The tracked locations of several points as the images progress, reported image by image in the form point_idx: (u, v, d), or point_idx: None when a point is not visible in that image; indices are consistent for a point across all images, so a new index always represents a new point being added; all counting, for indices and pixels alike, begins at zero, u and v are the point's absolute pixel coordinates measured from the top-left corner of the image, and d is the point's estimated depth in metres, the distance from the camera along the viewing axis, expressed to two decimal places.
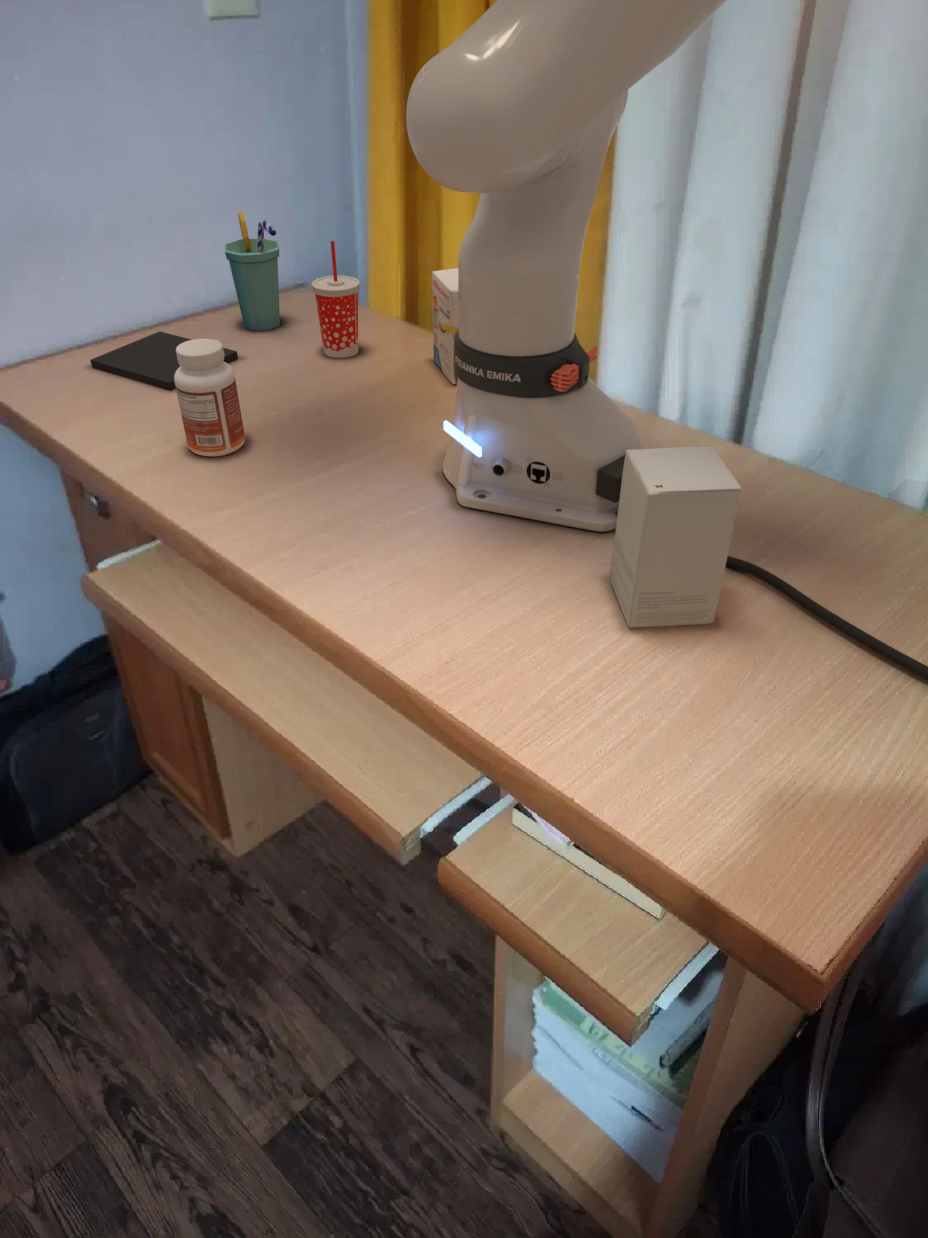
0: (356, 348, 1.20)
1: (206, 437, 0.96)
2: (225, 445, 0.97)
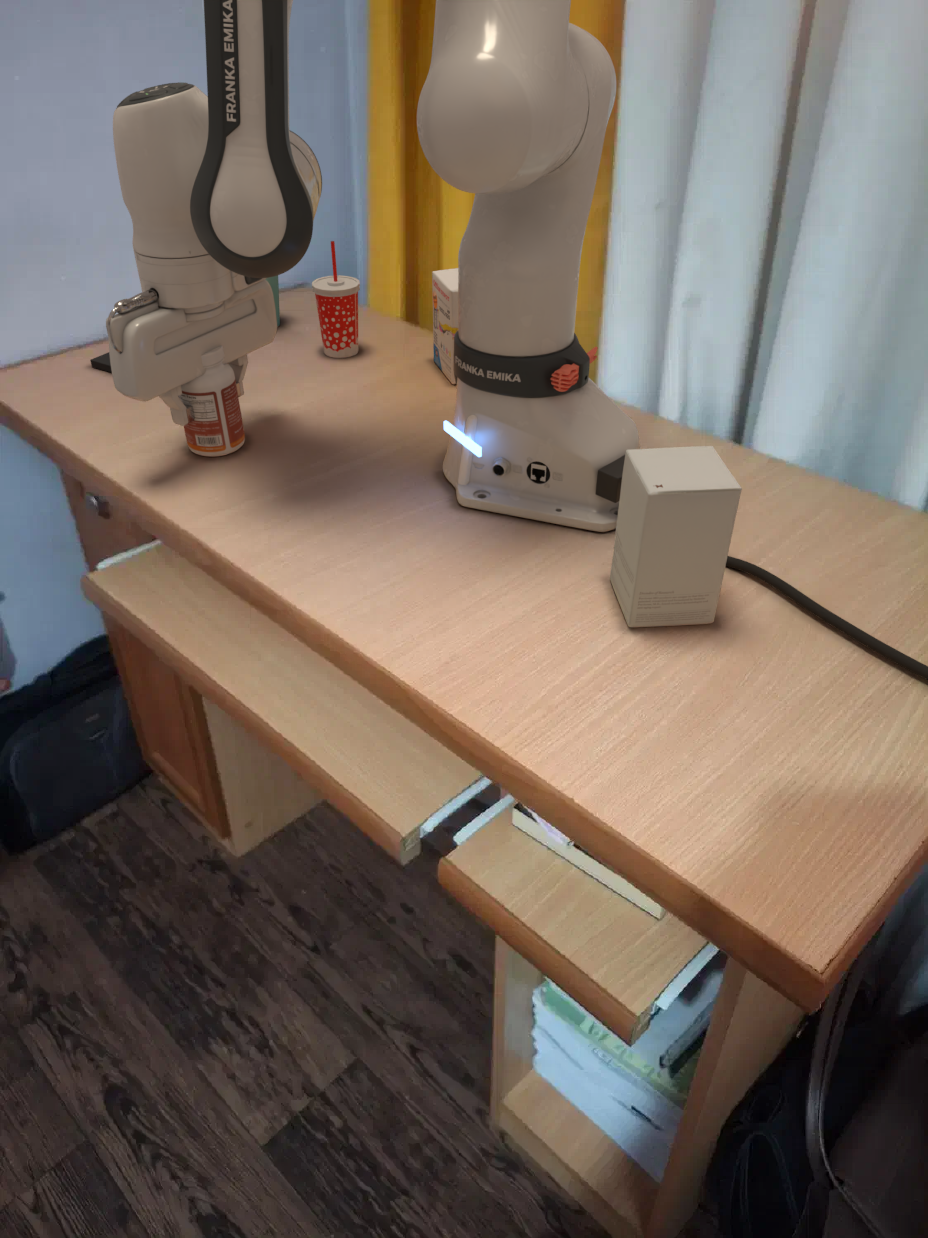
0: (356, 348, 1.20)
1: (206, 438, 0.96)
2: (225, 445, 0.97)
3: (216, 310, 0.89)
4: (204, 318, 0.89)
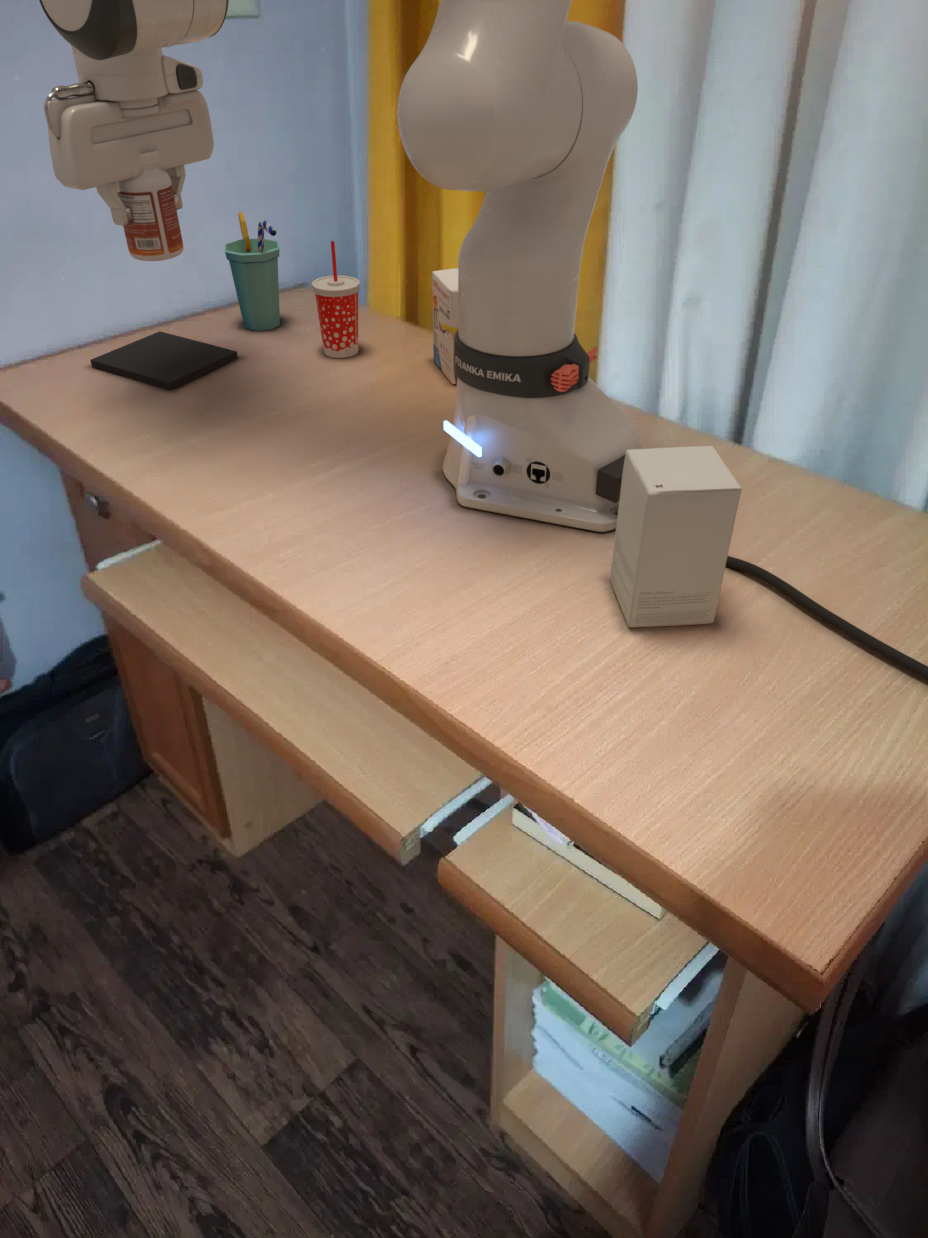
0: (356, 348, 1.20)
1: (145, 240, 1.03)
2: (163, 249, 1.04)
3: (150, 108, 0.96)
4: (139, 114, 0.95)
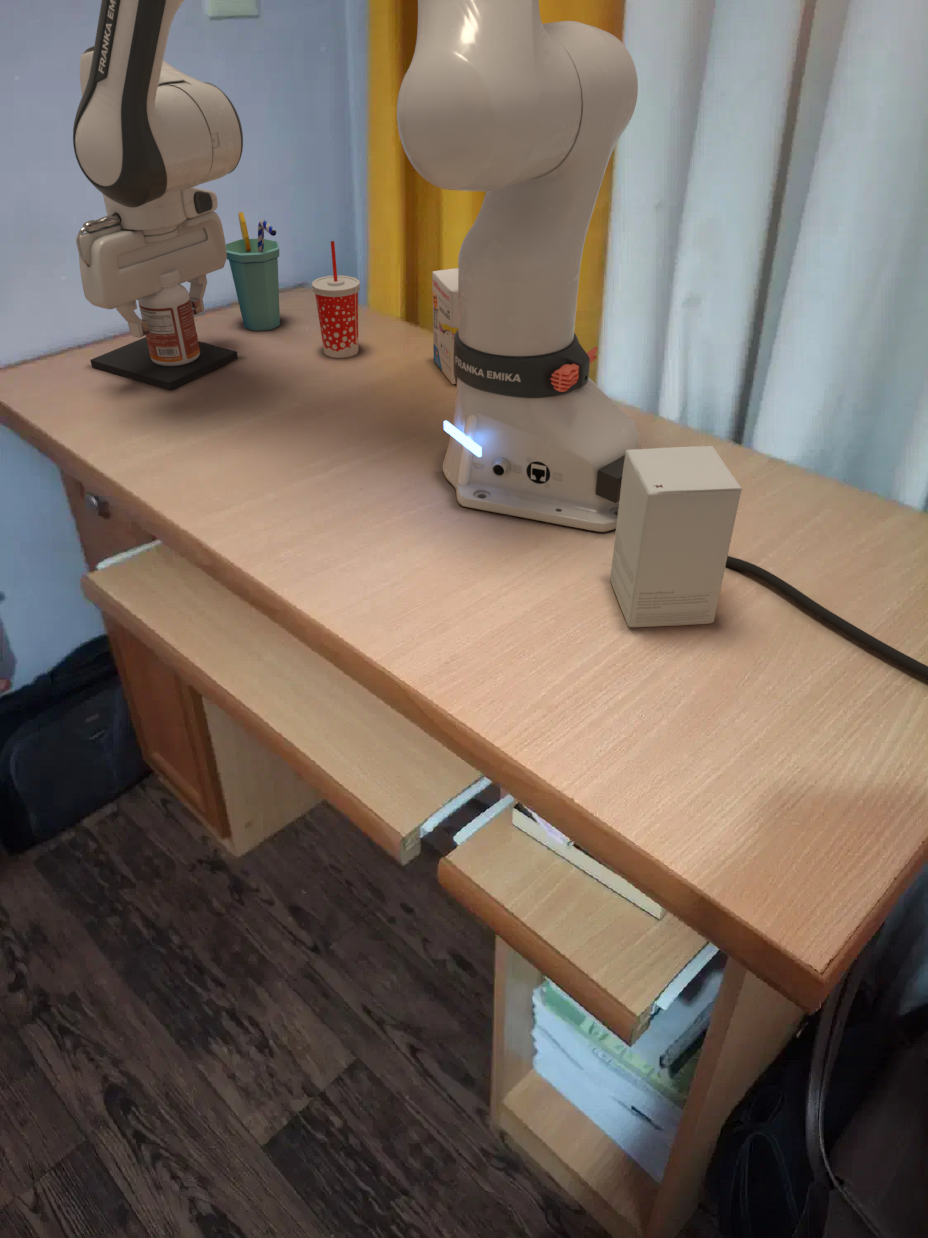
0: (356, 348, 1.20)
1: (165, 349, 1.13)
2: (182, 356, 1.14)
3: (170, 233, 1.06)
4: (160, 240, 1.05)
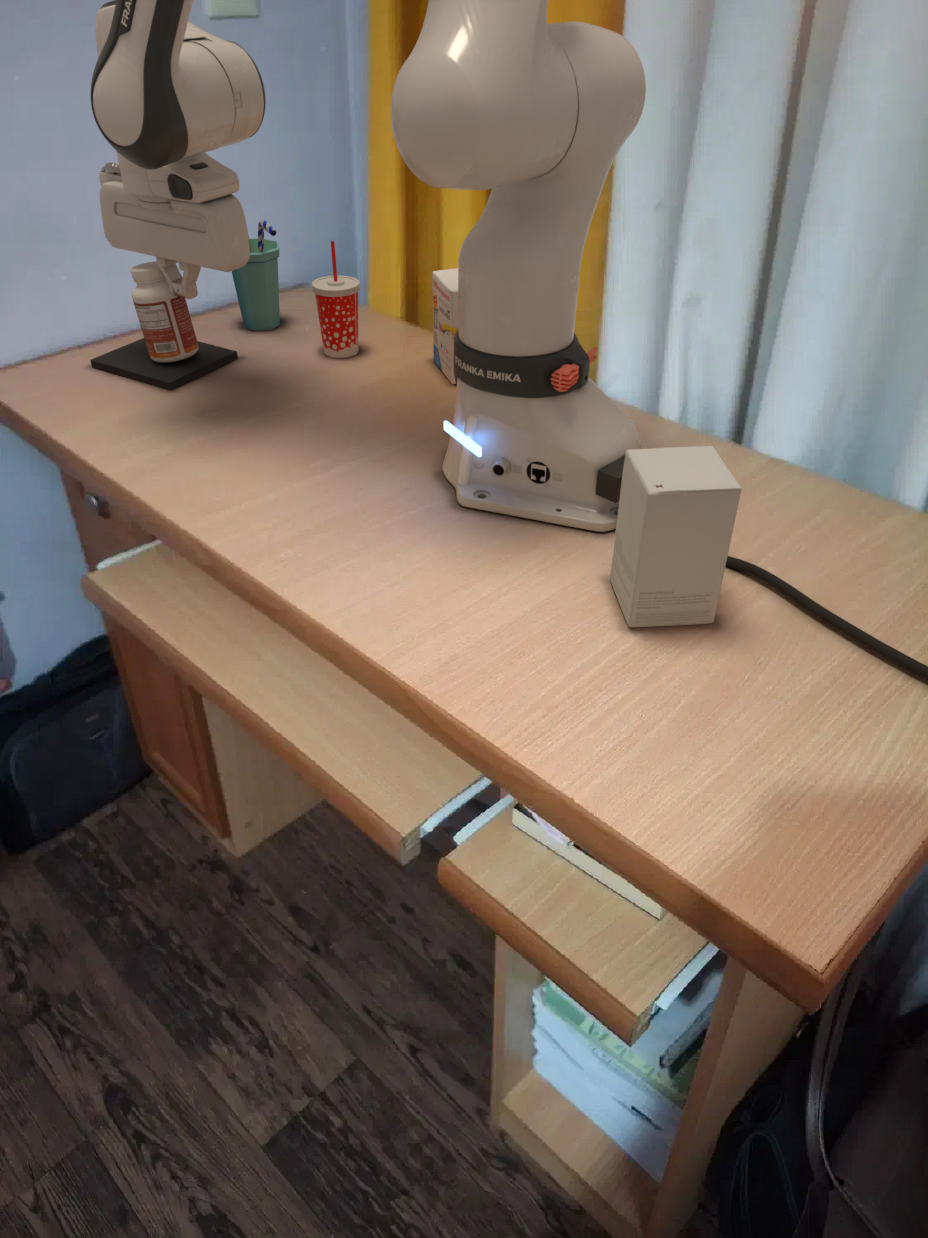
0: (356, 348, 1.20)
1: (162, 344, 1.12)
2: (179, 350, 1.13)
3: (147, 203, 1.01)
4: (140, 205, 1.02)
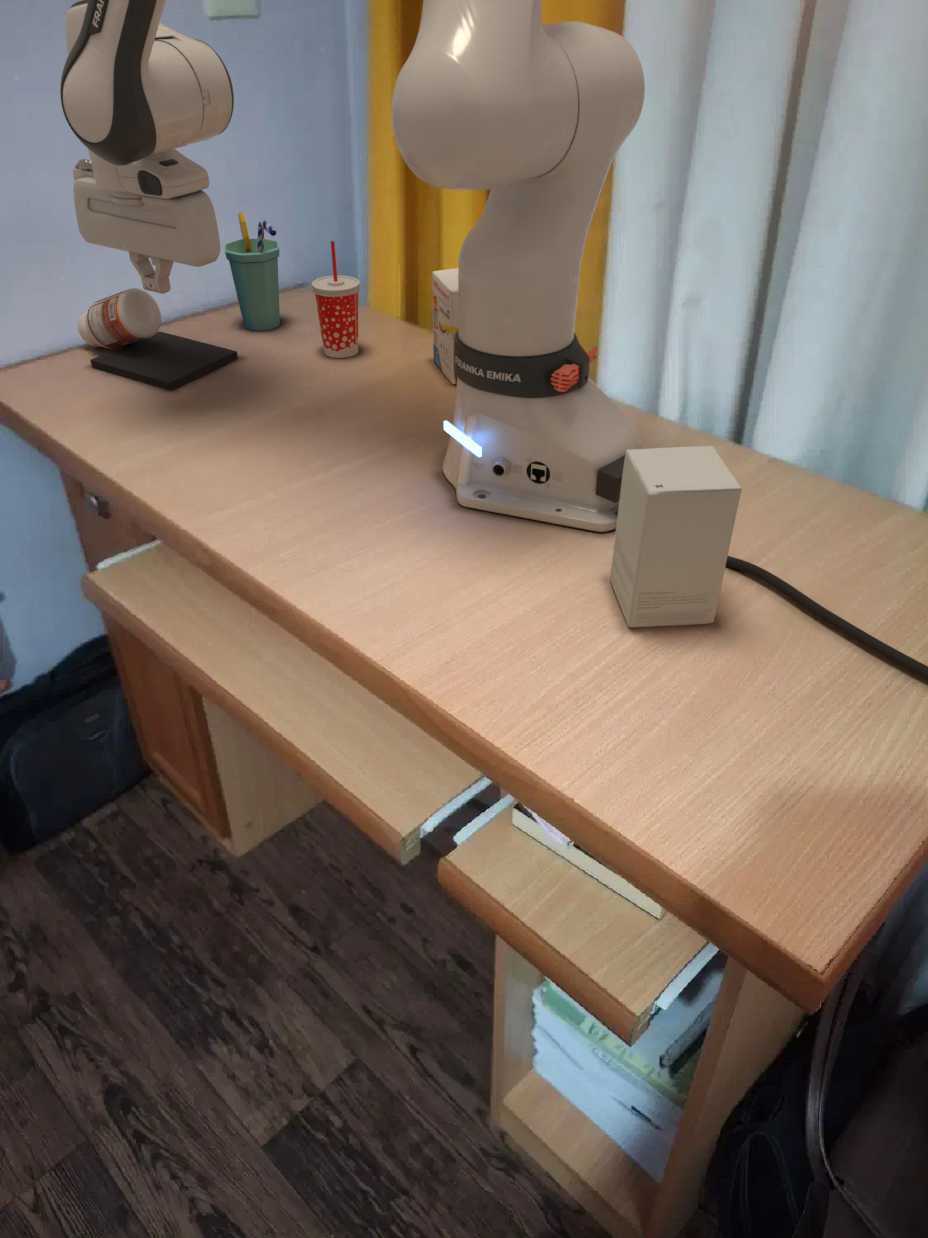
0: (356, 348, 1.20)
1: (109, 310, 1.14)
2: (117, 295, 1.14)
3: (118, 199, 1.03)
4: (112, 201, 1.04)
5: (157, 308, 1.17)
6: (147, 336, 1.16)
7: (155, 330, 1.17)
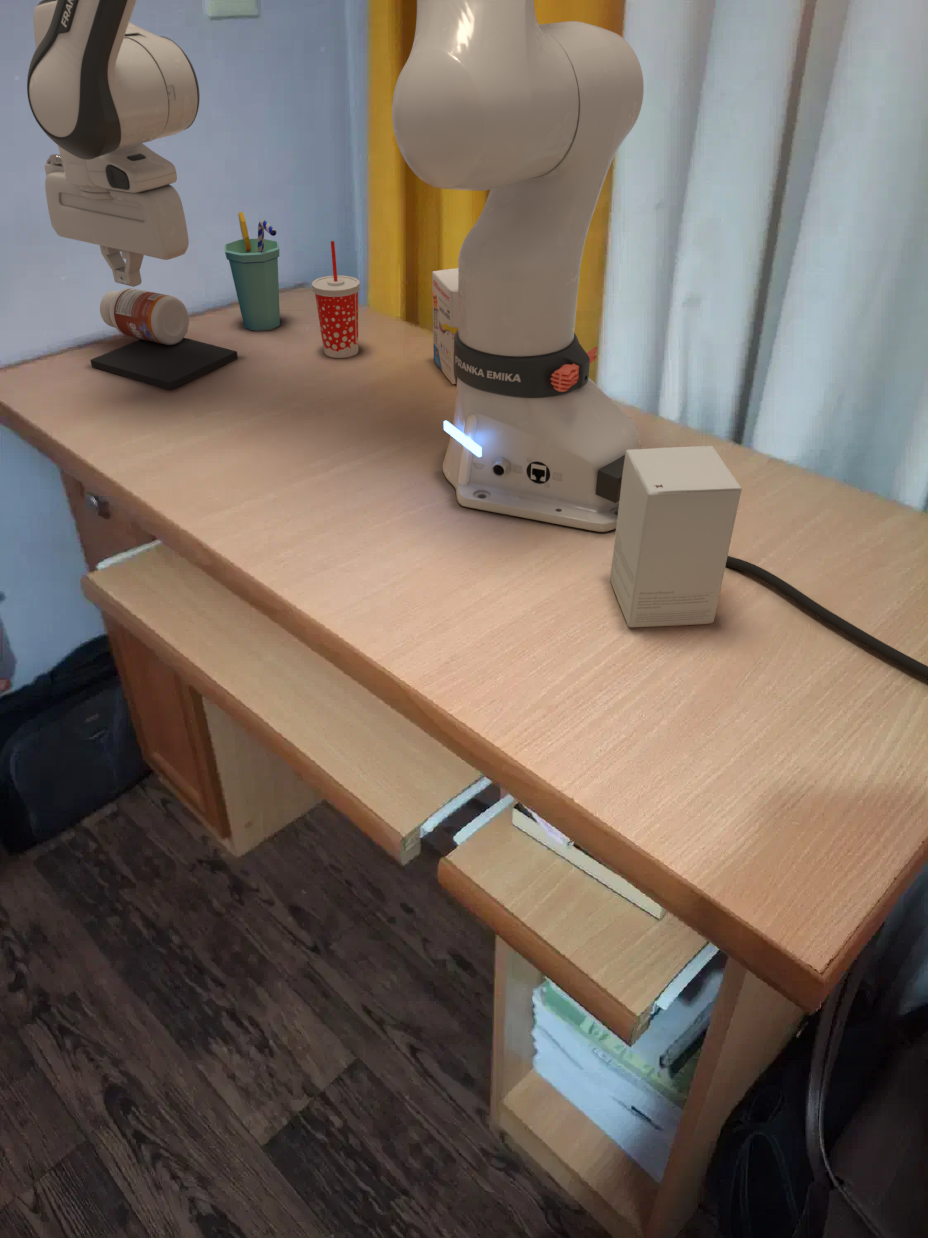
0: (356, 348, 1.20)
1: (155, 294, 1.17)
2: None
3: (88, 193, 1.05)
4: (82, 195, 1.06)
5: (182, 336, 1.20)
6: (157, 333, 1.17)
7: (165, 339, 1.18)
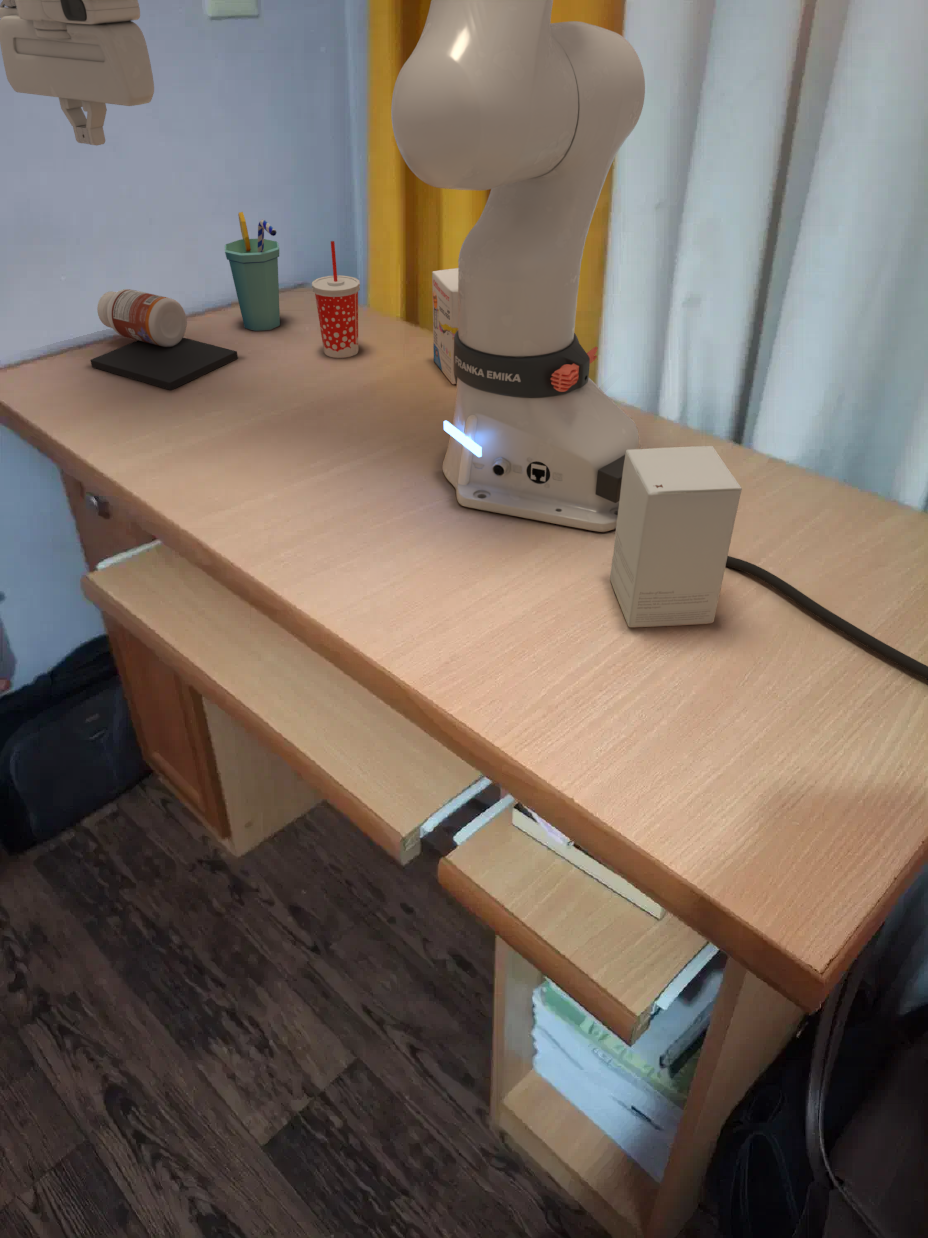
0: (356, 348, 1.20)
1: (150, 297, 1.17)
2: None
3: (43, 31, 0.96)
4: (37, 35, 0.97)
5: (181, 336, 1.20)
6: (156, 338, 1.17)
7: (165, 343, 1.18)
